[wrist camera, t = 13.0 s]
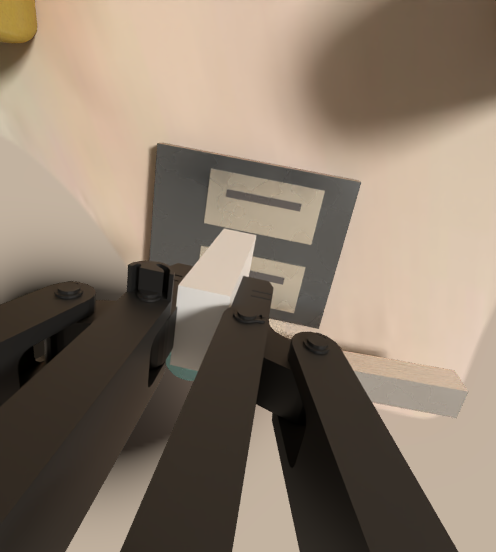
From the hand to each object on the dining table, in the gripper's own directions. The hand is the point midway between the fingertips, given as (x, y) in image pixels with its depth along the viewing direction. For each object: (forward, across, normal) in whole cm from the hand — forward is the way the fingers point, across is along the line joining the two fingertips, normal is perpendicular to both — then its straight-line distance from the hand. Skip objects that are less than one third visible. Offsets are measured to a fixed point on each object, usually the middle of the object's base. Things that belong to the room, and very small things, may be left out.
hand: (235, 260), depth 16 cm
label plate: (+14, -1, -3) cm, 15 cm away
